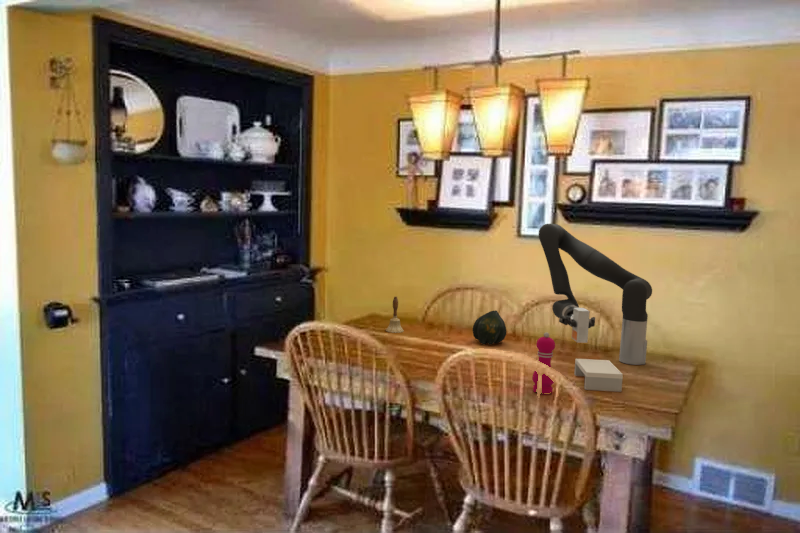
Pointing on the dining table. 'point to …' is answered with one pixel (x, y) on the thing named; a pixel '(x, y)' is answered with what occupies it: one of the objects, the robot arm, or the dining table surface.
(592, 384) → the shelf bench
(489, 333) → the squash
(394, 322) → the hand bell
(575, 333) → the skincare box
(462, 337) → the dining table surface
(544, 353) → the pepper mill
